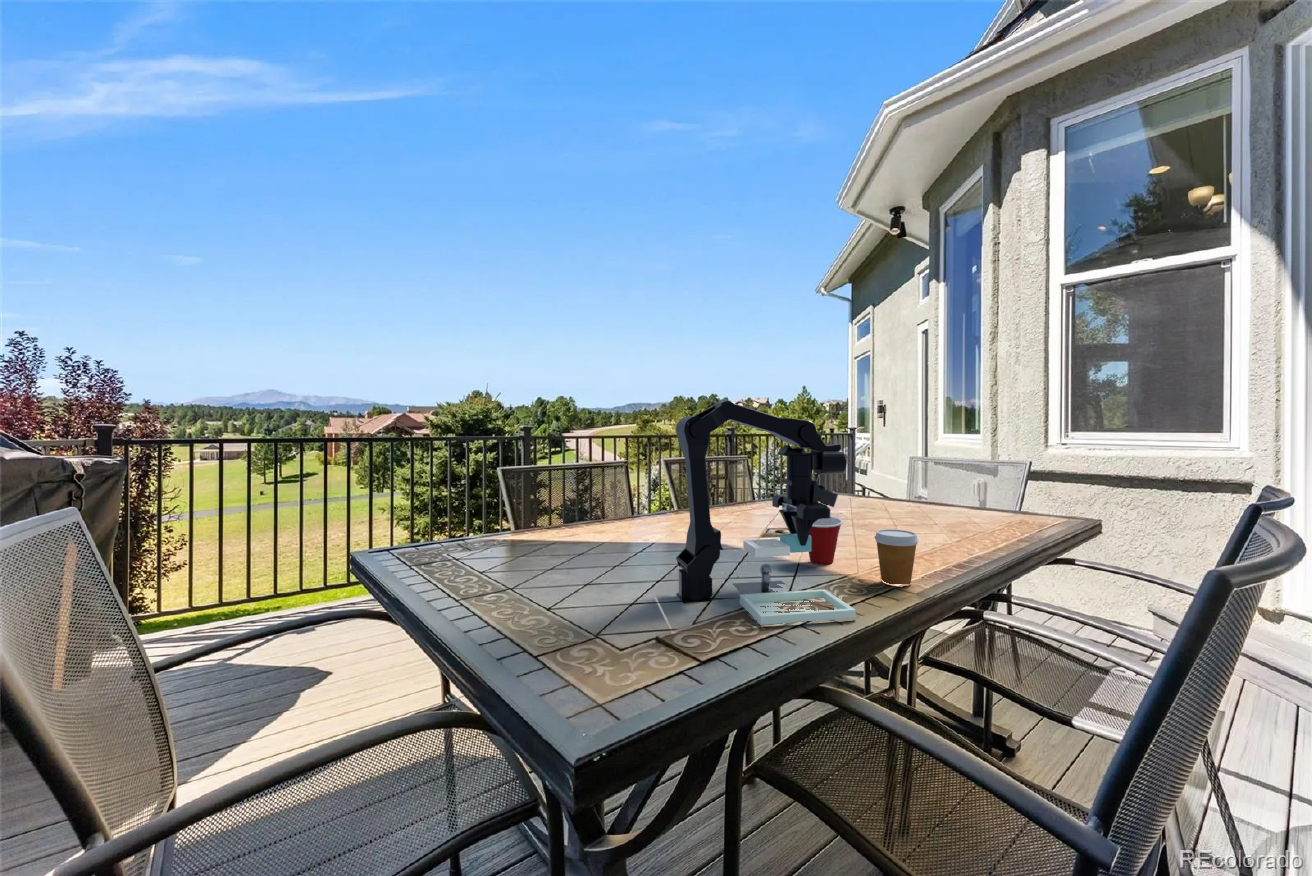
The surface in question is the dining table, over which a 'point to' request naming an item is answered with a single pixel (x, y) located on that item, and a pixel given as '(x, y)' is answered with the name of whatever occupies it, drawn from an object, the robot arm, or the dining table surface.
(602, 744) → the dining table surface
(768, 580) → the peg stand
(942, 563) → the dining table surface
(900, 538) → the disposable coffee cup
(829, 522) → the plastic cup
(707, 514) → the robot arm
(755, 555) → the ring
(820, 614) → the tray
